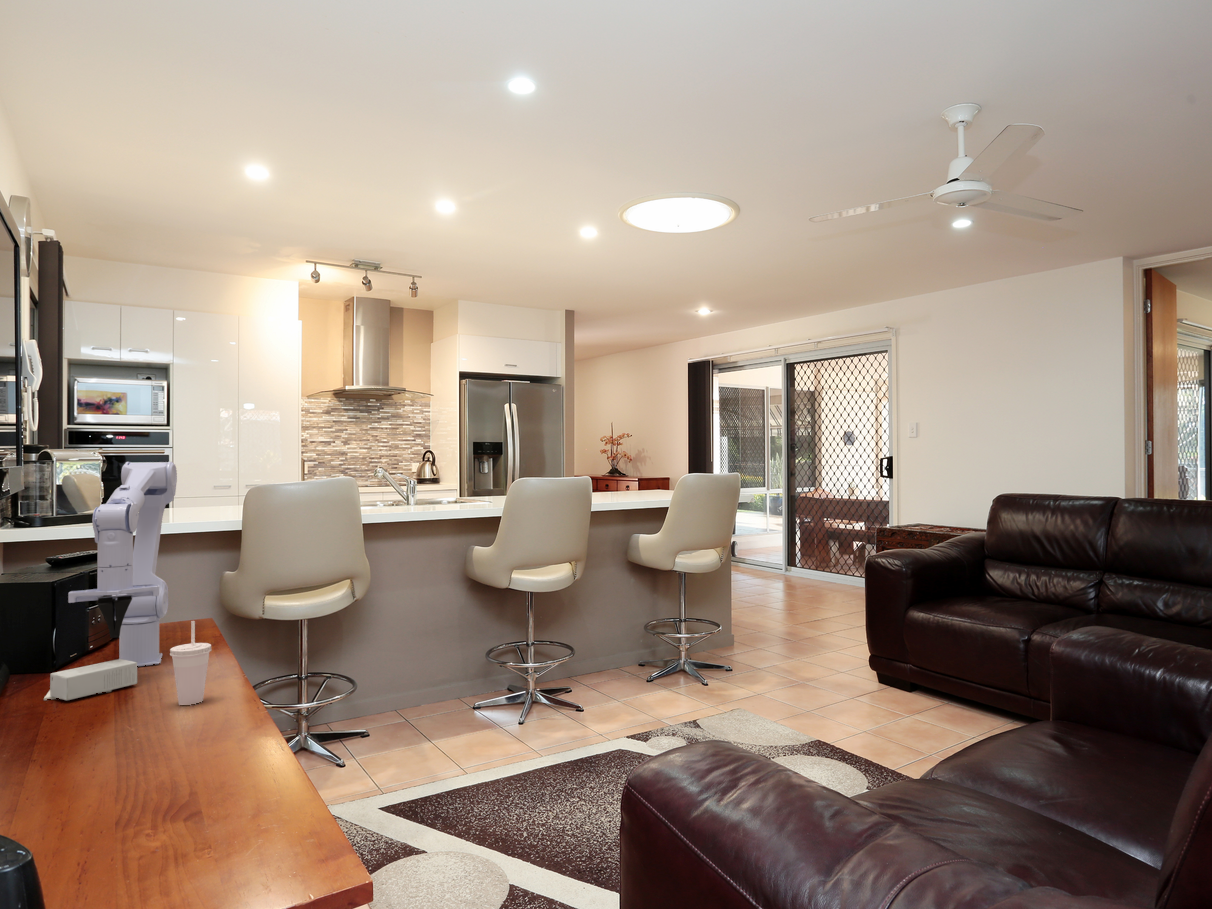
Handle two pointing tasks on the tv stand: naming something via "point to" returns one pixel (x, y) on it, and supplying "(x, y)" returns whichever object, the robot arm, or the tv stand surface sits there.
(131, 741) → the tv stand surface
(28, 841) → the tv stand surface
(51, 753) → the tv stand surface
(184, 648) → the smoothie
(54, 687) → the skincare box
